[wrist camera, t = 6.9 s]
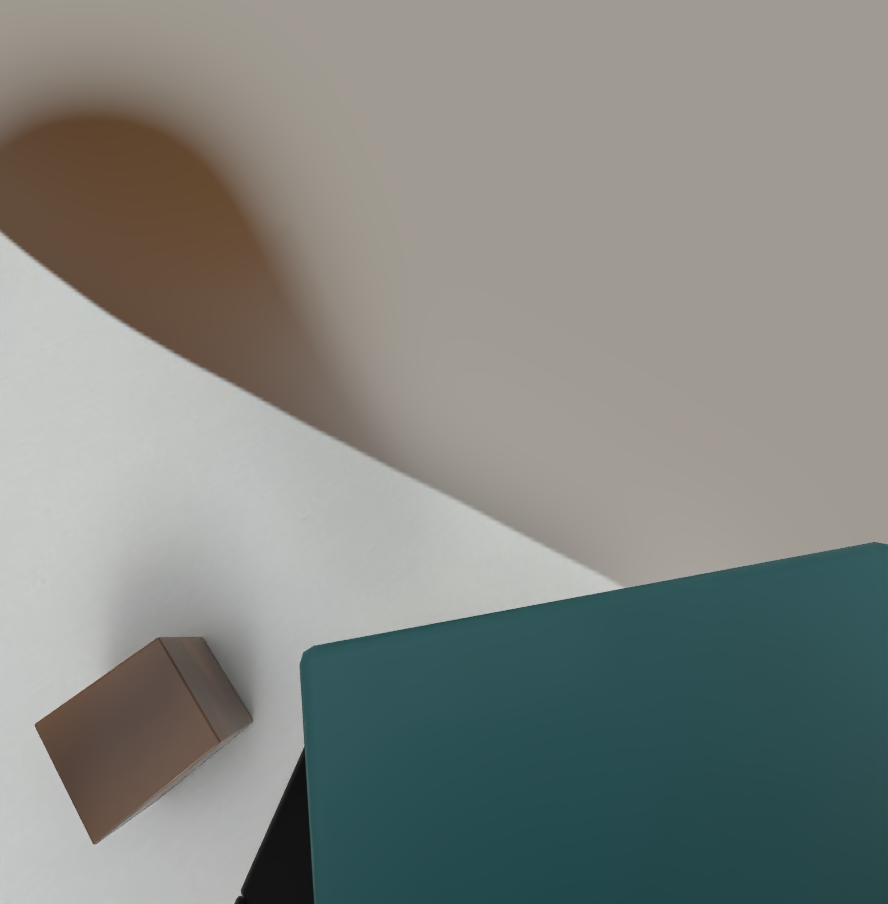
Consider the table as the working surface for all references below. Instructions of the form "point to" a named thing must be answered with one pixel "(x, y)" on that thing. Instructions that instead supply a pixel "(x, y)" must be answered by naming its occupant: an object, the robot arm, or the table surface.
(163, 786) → the block
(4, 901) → the table surface
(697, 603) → the teal block
